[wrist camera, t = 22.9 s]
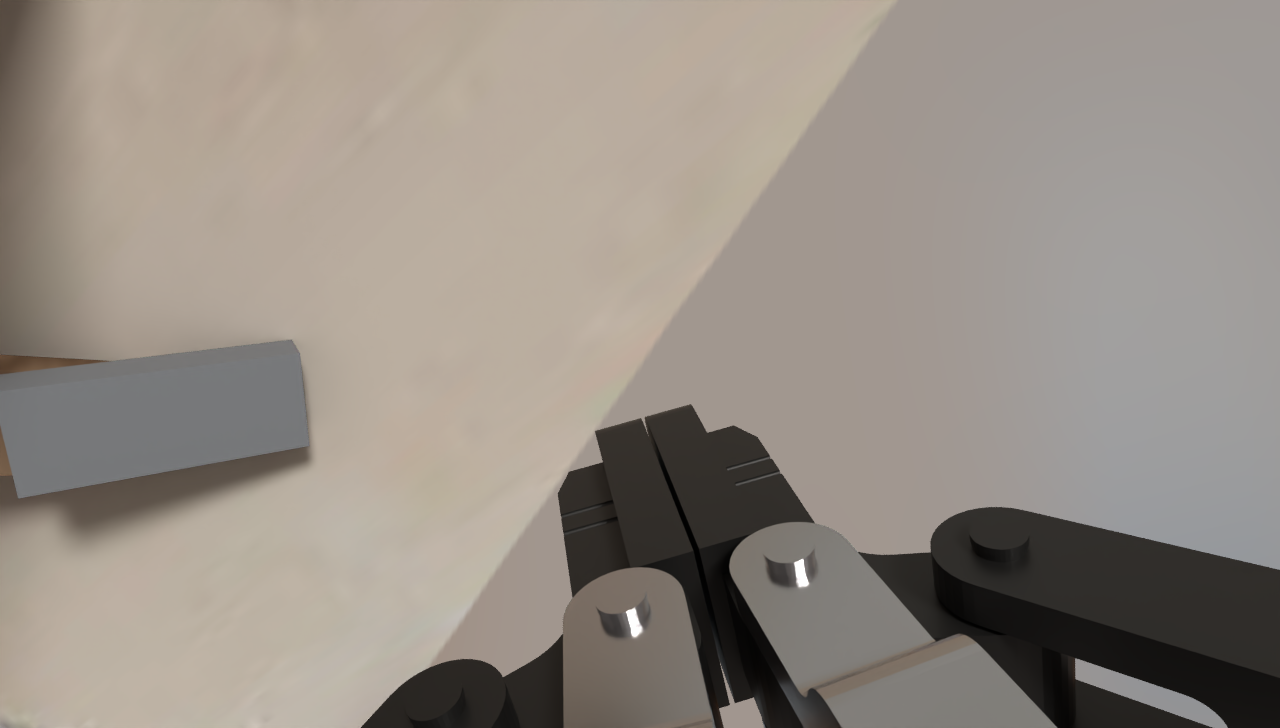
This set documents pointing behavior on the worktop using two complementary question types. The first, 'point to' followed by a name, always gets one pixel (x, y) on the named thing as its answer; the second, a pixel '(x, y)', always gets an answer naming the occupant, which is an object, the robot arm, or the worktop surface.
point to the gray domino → (150, 415)
